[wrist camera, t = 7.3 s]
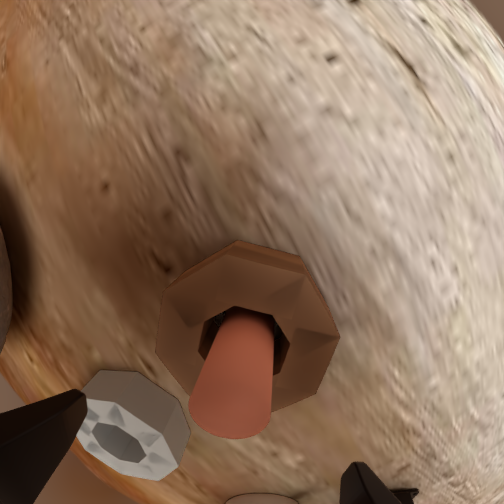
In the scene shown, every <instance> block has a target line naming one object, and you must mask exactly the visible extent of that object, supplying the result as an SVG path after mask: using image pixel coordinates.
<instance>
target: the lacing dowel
mask: <svg viewBox="0 0 504 504" xmlns="http://www.w3.org/2000/svg"><path fill="white" fill-rule="evenodd" d="M274 328H275V319H274V317H273V315H270V314H266V313H262V312H258V311H254V310H251V309H247V308H243V307H239V306H233V307H231V308H229V309H227V311H226V314H225V316H224V318H223V321H222V323H221V325H220V328H219V330H218V332H217V335H216V337H215V339H214V342H213V344H212V347H211V349H210V351H209V354H208V356H207V358H206V361H205V363H204V365H203V368H202V370H201V373H200V375H199V377H198V380H197V382H196V384H195V387H194V389H193V391H192V394H191V396H190V399H189V405H188V406H189V411H190V414H191V416H192V418H193V420H194V421H195V422H196V423H197V424H198V425H199V426H200V427H201V428H203V429H204V430H205V431H207V432H209V433H211V434H213V435H216V436H219V437H223V438H228V439H243V438H248V437H251V436H254V435H256V434H258V433H260V432H261V431H262V430H263V429H264V428H265V427H266V426H267V425H268V423H269V421H270V416H271V399H272V378H273V355H274Z"/></svg>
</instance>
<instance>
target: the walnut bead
mask: <svg viewBox="0 0 504 504" xmlns="http://www.w3.org/2000/svg"><path fill="white" fill-rule="evenodd" d="M233 306H239V307H243V308H247V309H251V310H254V311H258V312H262V313H266V314H270V315H273V317H274V319H275V320H276V322H277V323H278V325H279V327H280V328H281V330H282V334H281V337H280V338H279V339H277V340H275V341H274V355H273V378H272V399H271V412H274V411H276V410H279V409H281V408H284V407H286V406H289V405H291V404H294V403H296V402H298V401H301V400H303V399H305V398H308V397H310V396H312V395H314V394H316V392H317V390H318V388H319V385H320V383H321V381H322V379H323V377H324V374H325V372H326V370H327V367H328V365H329V363H330V360H331V358H332V356H333V353H334V351H335V349H336V346H337V344H338V341H339V339H340V335H339V333H338V330H337V328H336V325H335V323H334V320H333V318H332V315H331V313H330V310H329V308H328V306H327V304H326V302H325V300H324V299H323V297H322V295H321V293H320V291H319V290H318V288H317V286H316V284H315V282H314V281H313V279H312V277H311V275H310V274H309V272H308V270H307V268H306V267H305V265H304V263H303V261H302V260H301V258H300V256H297V255H293V254H290V253H286V252H282V251H278V250H274V249H270V248H267V247H263V246H259V245H255V244H251V243H247V242H243V241H239V240H237V241H235V242H233V243H231V244H230V245H228V246H226V247H225V248H223V249H221V250H220V251H218V252H216V253H215V254H213V255H211V256H210V257H208V258H206V259H205V260H203V261H201V262H200V263H198V264H196V265H195V266H193V267H191V268H190V269H188V270H186V271H185V272H184V273H183V274H182V275H181V276H180V277H178V278H177V279H176V280H175V281H174V282H173V283H172V284H171V285H170V286H169V287H167V288H166V289H165V290H164V291H163V296H162V303H161V310H160V317H159V325H158V333H157V341H156V350H155V353H156V355H157V356H158V357H159V359H160V360H161V361H162V363H163V364H164V365H165V366H166V368H167V369H168V370H169V372H170V373H171V374H172V375H173V377H174V378H175V379H176V380H177V382H178V383H179V384H180V385H181V386H182V388H183V389H184V390H185V391H186V393H187V394H188V395H189V396H191V394H192V391H193V389H194V387H195V384H196V382H197V380H198V377H199V375H200V373H201V370H202V368H203V365H204V363H205V361H206V358H207V356H208V354H209V351H210V349H211V347H212V344H213V342H214V339H215V337H216V335H217V332H218V330H219V328H218V327H217V325H216V324H215V323H214V321H213V319H214V316H216V315H218V314H219V313H221V312H223V311H225V310H227V309H229V308H231V307H233Z"/></svg>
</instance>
